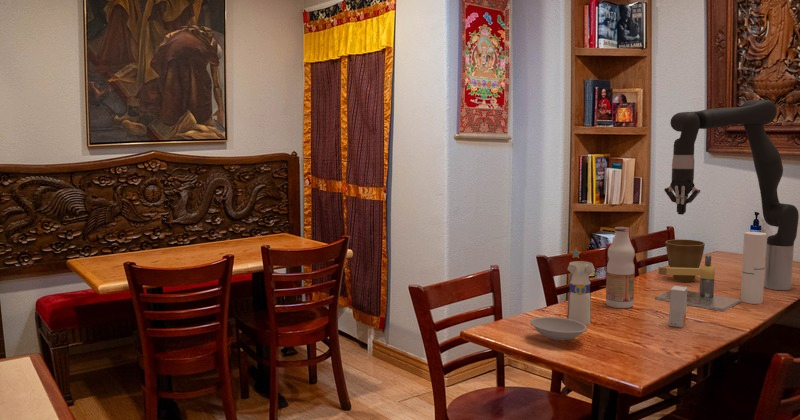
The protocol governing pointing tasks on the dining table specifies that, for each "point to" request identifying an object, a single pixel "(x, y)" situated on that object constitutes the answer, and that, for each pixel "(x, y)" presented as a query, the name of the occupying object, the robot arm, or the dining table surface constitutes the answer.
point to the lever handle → (689, 271)
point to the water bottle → (580, 290)
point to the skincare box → (678, 306)
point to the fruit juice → (620, 271)
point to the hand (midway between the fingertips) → (681, 214)
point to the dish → (558, 327)
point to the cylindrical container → (753, 267)
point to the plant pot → (684, 256)
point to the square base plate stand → (705, 295)
